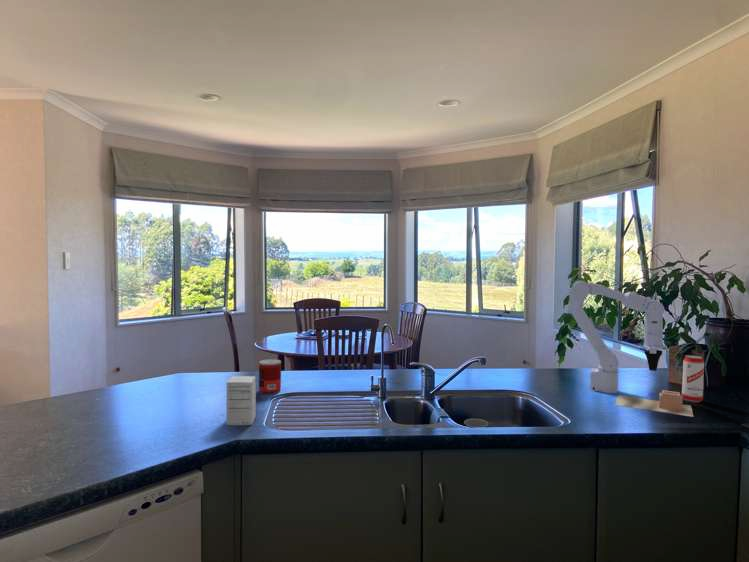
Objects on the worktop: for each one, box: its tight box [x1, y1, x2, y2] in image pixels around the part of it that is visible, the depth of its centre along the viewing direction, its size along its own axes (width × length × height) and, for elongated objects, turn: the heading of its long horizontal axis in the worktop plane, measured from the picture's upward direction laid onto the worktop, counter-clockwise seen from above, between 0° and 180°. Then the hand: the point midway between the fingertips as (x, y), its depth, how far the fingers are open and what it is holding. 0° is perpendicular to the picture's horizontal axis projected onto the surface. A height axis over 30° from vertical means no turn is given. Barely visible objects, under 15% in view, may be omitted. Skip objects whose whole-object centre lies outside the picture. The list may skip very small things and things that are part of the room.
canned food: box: [258, 358, 282, 395], centre depth 170 cm, size 8×8×11 cm
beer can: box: [681, 354, 705, 403], centre depth 169 cm, size 6×6×16 cm
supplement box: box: [226, 375, 257, 426], centre depth 138 cm, size 7×7×13 cm
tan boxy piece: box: [658, 389, 684, 411], centre depth 155 cm, size 6×5×5 cm
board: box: [614, 395, 694, 418], centre depth 158 cm, size 22×14×4 cm, turn 59°
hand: (652, 370), depth 170 cm, fingers closed
